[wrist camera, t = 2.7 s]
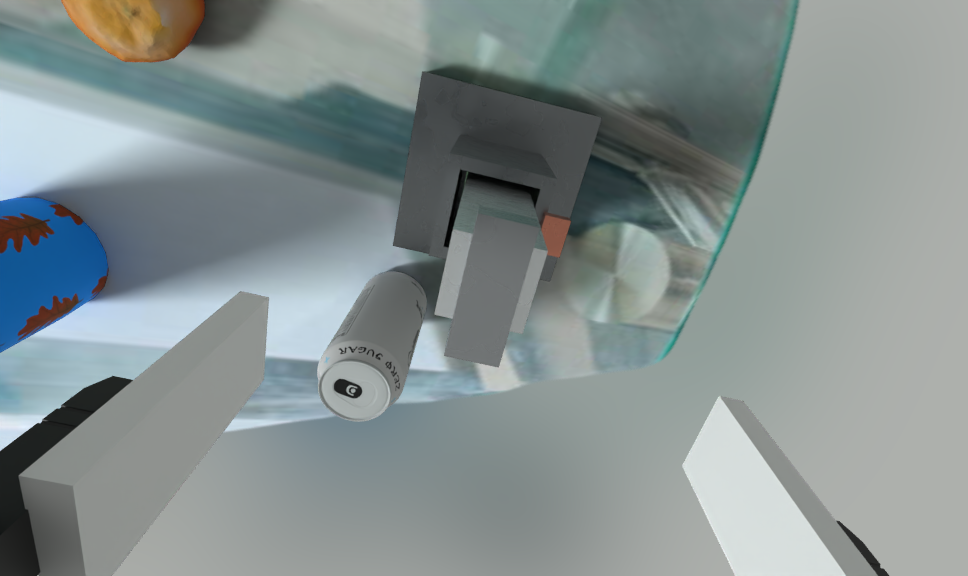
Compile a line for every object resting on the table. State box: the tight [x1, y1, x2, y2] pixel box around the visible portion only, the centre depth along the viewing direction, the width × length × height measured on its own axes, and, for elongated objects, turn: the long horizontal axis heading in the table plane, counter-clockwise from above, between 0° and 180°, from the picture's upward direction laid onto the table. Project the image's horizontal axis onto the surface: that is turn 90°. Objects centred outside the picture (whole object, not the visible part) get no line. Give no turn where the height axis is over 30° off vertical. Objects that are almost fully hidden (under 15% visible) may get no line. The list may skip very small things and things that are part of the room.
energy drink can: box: [318, 271, 427, 421], centre depth 39 cm, size 6×6×15 cm
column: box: [434, 171, 548, 367], centre depth 29 cm, size 6×4×21 cm, turn 167°
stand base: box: [393, 72, 602, 281], centre depth 35 cm, size 14×14×13 cm
